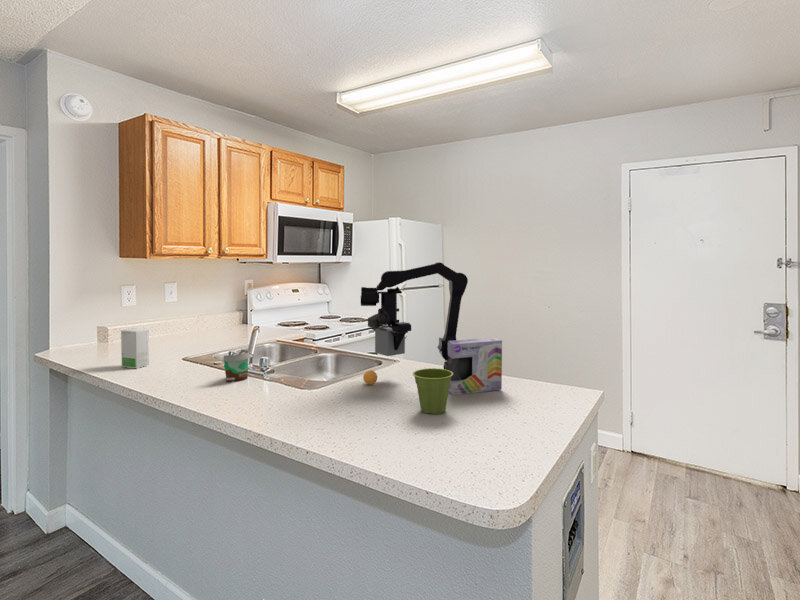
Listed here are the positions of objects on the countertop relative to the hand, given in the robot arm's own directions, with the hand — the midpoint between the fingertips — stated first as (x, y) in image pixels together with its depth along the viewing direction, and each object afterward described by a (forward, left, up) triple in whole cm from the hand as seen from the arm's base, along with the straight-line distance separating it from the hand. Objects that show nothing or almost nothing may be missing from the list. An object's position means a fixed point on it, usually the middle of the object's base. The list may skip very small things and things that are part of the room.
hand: (389, 348), depth 163 cm
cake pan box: (-29, -13, -12) cm, 34 cm away
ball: (0, +8, -10) cm, 13 cm away
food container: (+37, +41, -12) cm, 57 cm away
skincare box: (+85, +67, -12) cm, 109 cm away
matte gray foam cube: (0, 0, -2) cm, 2 cm away
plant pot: (-34, +11, -12) cm, 38 cm away
